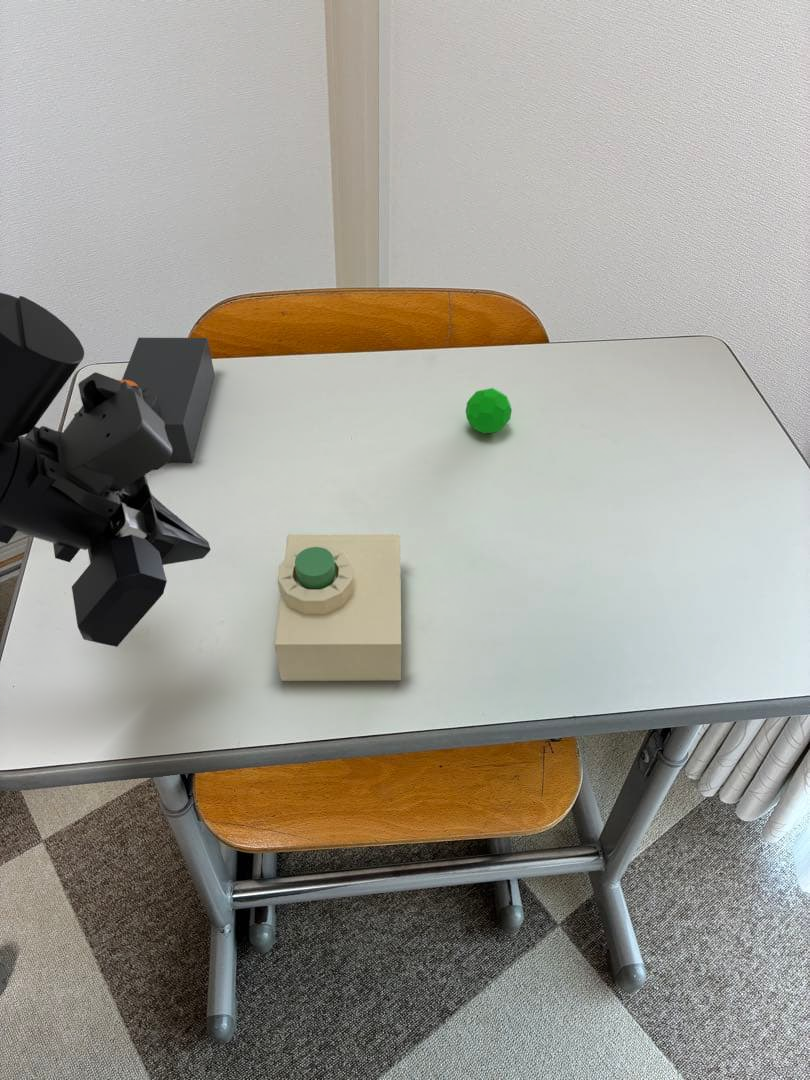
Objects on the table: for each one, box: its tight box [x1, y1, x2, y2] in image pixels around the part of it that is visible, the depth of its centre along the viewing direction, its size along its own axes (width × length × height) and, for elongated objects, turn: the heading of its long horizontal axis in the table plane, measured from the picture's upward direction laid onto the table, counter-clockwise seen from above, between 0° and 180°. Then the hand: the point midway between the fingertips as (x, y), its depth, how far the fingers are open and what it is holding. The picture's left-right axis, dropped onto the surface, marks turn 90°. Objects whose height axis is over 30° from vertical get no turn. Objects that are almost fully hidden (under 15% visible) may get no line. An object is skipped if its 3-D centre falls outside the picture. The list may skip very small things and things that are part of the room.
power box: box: [274, 534, 402, 682], centre depth 68 cm, size 10×12×7 cm
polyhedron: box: [465, 387, 513, 435], centre depth 88 cm, size 5×5×5 cm
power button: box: [295, 547, 335, 589], centre depth 65 cm, size 3×3×2 cm
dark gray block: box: [121, 337, 215, 464], centre depth 87 cm, size 9×18×7 cm, turn 1°
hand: (206, 550), depth 59 cm, fingers closed
